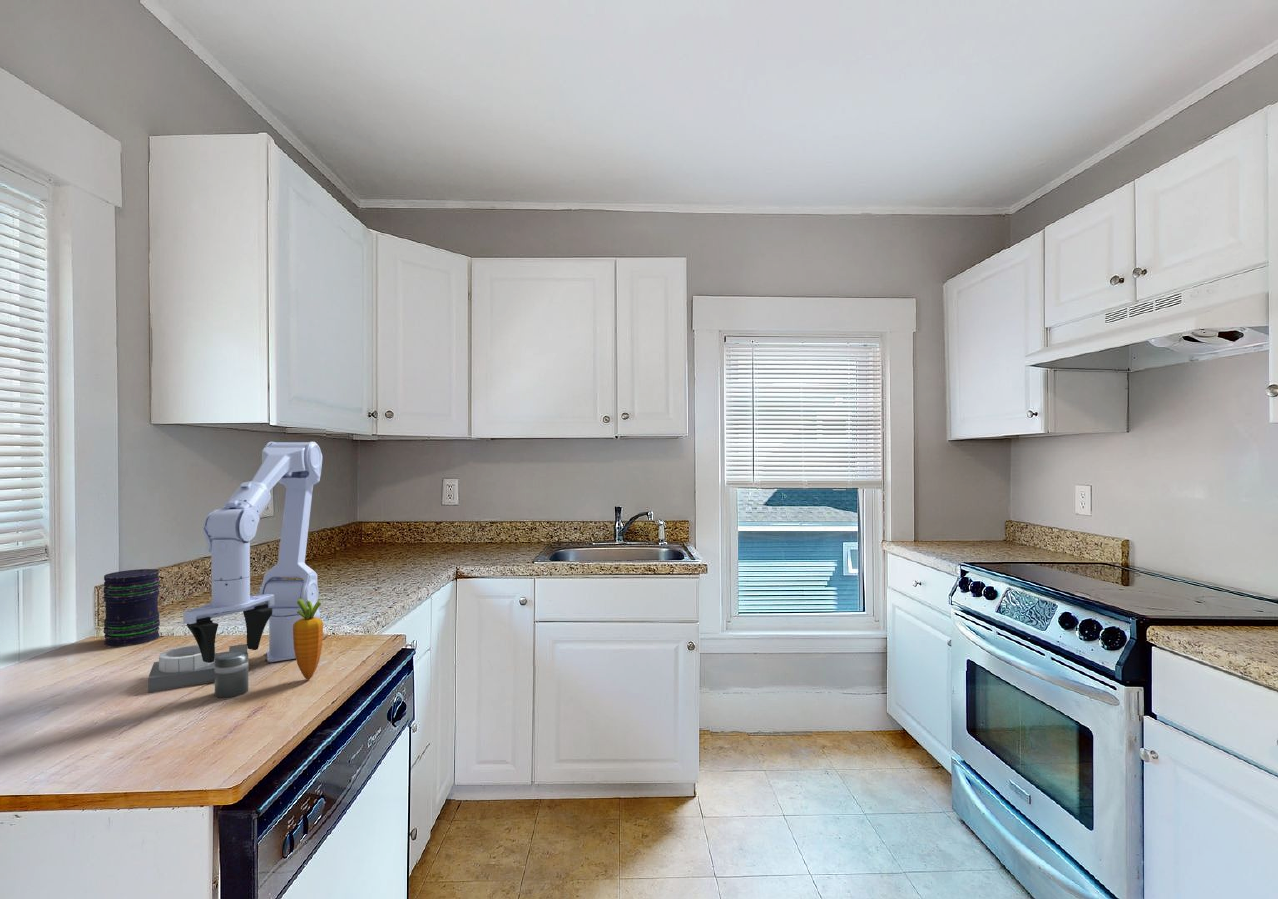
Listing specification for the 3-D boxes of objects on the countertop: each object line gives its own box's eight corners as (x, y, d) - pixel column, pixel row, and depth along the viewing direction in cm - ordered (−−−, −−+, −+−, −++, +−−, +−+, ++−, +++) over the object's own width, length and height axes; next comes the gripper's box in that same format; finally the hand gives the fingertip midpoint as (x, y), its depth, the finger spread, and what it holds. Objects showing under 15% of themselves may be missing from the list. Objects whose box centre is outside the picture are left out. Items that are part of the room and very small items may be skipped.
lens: (248, 685, 117) (248, 649, 117) (248, 695, 113) (248, 657, 113) (215, 691, 114) (214, 654, 114) (214, 701, 110) (213, 662, 110)
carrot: (329, 676, 121) (328, 596, 121) (308, 686, 117) (307, 603, 117) (308, 673, 123) (308, 594, 123) (286, 682, 118) (286, 600, 118)
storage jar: (136, 647, 139) (136, 577, 139) (91, 647, 139) (90, 577, 139) (170, 633, 149) (170, 569, 149) (128, 633, 149) (128, 569, 149)
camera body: (247, 661, 130) (246, 636, 130) (247, 676, 122) (247, 649, 122) (154, 675, 122) (154, 648, 122) (147, 692, 114) (147, 664, 114)
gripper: (257, 568, 122) (257, 641, 122) (172, 583, 109) (173, 664, 109) (281, 571, 118) (281, 646, 119) (197, 587, 106) (197, 670, 106)
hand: (231, 655), depth 113 cm, fingers open, 7 cm apart
